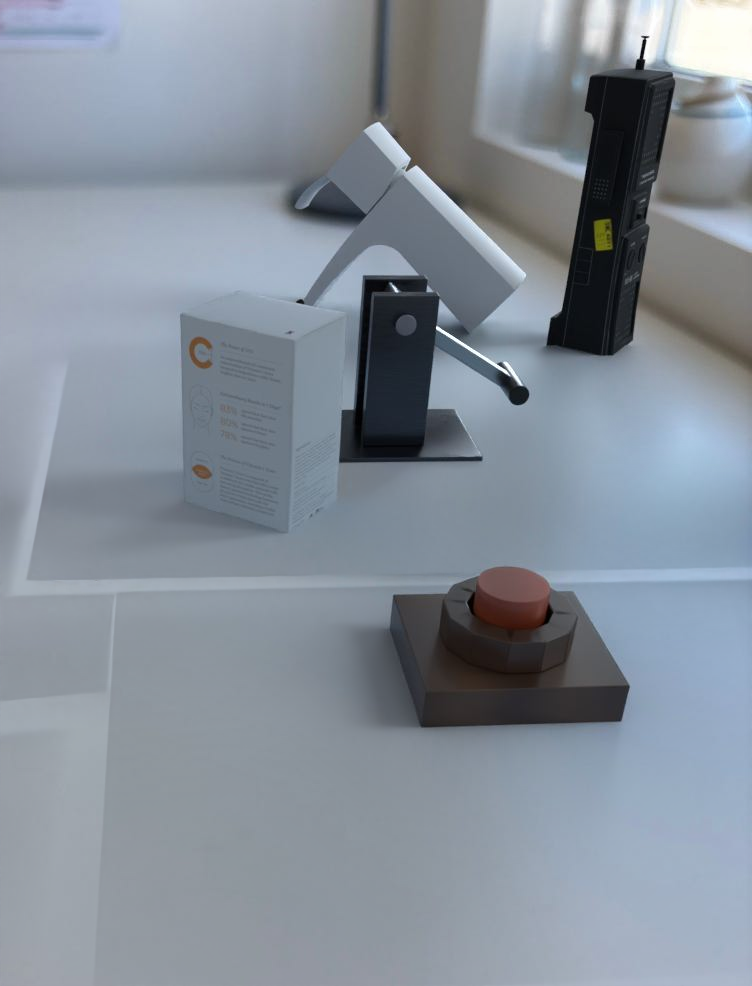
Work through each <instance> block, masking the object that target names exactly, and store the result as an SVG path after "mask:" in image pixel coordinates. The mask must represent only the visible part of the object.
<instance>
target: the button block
mask: <svg viewBox="0 0 752 986" xmlns="http://www.w3.org/2000/svg"><path fill="white" fill-rule="evenodd" d="M478 576H479V575H476V576H473V577H470V578H468V579H467V578H466V579H465V580H462V581H459V582H456V583H454V584H452V586H451V587H450V588H449V590H448V591H447V593H410V594H409V593H408V594H406V593H405V594H401V593H400V594H393V595H392V602H391V609H390V610H391V611H390V620H389V621H390V622H389V630H390V634H391V637H392V639H393V643H394V646H395V649H396V652H397V656H398V658H399V662H400V665H401V669H402V671H403V674H404V678H405V680H406V684H407V687H408V690H409V693H410V696H411V699H412V702H413V706H414V709H415V712H416V716H417V718H418V721H419V724H420V727H421V728H449V727H450V728H451V727H452V728H455V727H483V726H487V727H488V726H516V725H517V726H520V725H548V724H549V725H550V724H551V725H553V724H581V723H582V724H583V723H610V722H611V723H613V722H614V723H615V722H617V723H618V722H623V721H622V720H623V717H624V713H625V709H626V704H627V701H628V696H629V692H630V688H631V685H630V683H629V682H628V680H627V678H626V677H625V675H624V673H623V672H622V670H621V668H620V667H619V665H618V663H617V662H616V660H615V658H614V657H613V655H612V653H611V652H610V650H609V648H608V647H607V644H605V642H604V640H603V639H602V637H601V635H600V633H599V632H598V630H597V629H596V628H597V627H596V626H595V625H594V624H593V622H592V620H591V618H590V617H589V614H588V613H587V612H586V610H585V608H584V607H583V605H582V604H581V602H580V600H579V599H578V596H577V595H576V593H575V591H573V590H555V589H554V588H552V587H550V588H551V591H550V596H549V602H548V607H547V612H546V618H545V621H544V623H543V624H542V625H541V626H540V627H538V628H535V629H533V630H508V629H504V628H500V627H496V626H492V625H488V624H486V623H485V622H483V621H482V620H480V619H478V618H477V617H475V615H474V612H473V605H474V598H475V591H476V584H477V578H478Z"/></svg>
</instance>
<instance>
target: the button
mask: <svg viewBox="0 0 752 986" xmlns="http://www.w3.org/2000/svg"><path fill="white" fill-rule="evenodd" d="M477 576H478V578H477V584H476V591H475V598H474V605H473V612H474V615H475V617H477V618H478V619H480V620H482V621H483V622H485V623H486V624H488V625H492V626H496V627H500V628H504V629H508V630H533V629H535V628H538V627H540V626H541V625H542V624H543V623H544V621H545V618H546V612H547V607H548V602H549V596H550V591H551V588H552V587H551V585H550V582H549V581H548V580H547V579H546V578H545V577H544V576H542V575H540V574H539V573H537V572H535V571H533V570H530V569H528V568H523V567H517V566H509V565H507V566H495V567H491V568H487V569H485V570H484V571H482V572H481V573H480V574H479V575H477Z"/></svg>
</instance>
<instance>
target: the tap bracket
mask: <svg viewBox="0 0 752 986" xmlns="http://www.w3.org/2000/svg"><path fill="white" fill-rule="evenodd" d="M389 282H390V283H392V284H393V285H395V286H396V287H398V288H400V289H401V290H403V291H404V292H383V291H384V289H385V288H386V286H387V285H388V283H389ZM427 283H428V279H427V278H426V276H425V275H418V274H417V275H415V274H413V275H412V274H411V275H409V274H408V275H407V274H406V275H405V274H404V275H402V274H401V275H397V274H396V275H395V274H394V275H393V274H387V275H385V274H369V275H368V274H363V275H362V282H361V294H360V296H361V297H360V311H359V325H358V326H359V327H358V339H357V353H356V367H355V368H356V369H355V379H354V380H355V383H354V396H353V397H354V398H353V408H352V409H342V413H341V436H340V453H339V464H340V463H406V462H407V463H419V462H420V463H423V462H425V463H427V462H431V463H432V462H435V463H437V462H483V460H484V458H483V457H484V456H483V455H482V453H481V451H480V450H479V449H478V447H477V445H476V442H475V441H474V440H473V438H472V437H471V434H470V433H469V431H468V429H467V427H466V426H465V424H464V423H463V421H462V419H461V417H460V416H459V413H458V412H457V410H456V409H455V408H429V403H430V402H429V400H430V392H431V383H432V375H433V374H432V373H433V365H434V354H435V347H436V346H435V337H436V328H437V327H438V317H439V308H440V301H441V300H440V296H439V295H438V293H437V292H433V291H428V285H427ZM370 310H371V312H370Z"/></svg>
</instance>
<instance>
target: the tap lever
mask: <svg viewBox="0 0 752 986" xmlns="http://www.w3.org/2000/svg"><path fill="white" fill-rule="evenodd" d="M383 292H404V291H403V290H401V289H400V288H398V287H396V286H395V285H393V284H392V283H390V282H389V283H388V285H387V286H386V288H385V289H384V291H383ZM370 312H371V310H370ZM434 347H436V348H438V349H439V350H441V351H443V352H444V353H446V354H448V355H449V356H450V357H452V358H454V359H455V360H457V361H459V362H460V363H462V364H464V365H465V366H466V367H468V368H469V369H471V370H473V371H474V372H476V373H478V374H479V375H481V376H482V377H484V378H485V379H487V380H489V381H490V382H492V383H493V384H495V385H496V386H498V387H499V388H500V389H501V391H502V393H504V395H505V396H506V398H507V399H508V401H509V402H510V403H511V404H512V405H513V406H523V405H525V403H527V401H528V400H529V398H530V390H529V389H528V387H527V386H526V384H524V382H523V381H522V379H521V378H520V376H518V374H517V373H516V371H515V370H514V369H513V367H512V366H511V365H510V363H508V362H506V361H500V362H497V363H495V362H493V361H492V360H490V359H489V358H487V357H486V356H484V355H482V354H481V353H479V352H478V351H476V350H474V348H472V347H470V346H468V345H467V344H465V343H464V342H462V341H461V340H459V339H457V338H456V337H454V336H453V335H451V334H450V333H448V332H446V331H445V330H444V329H442V328H440V327H439V326H437V328H436V337H435V346H434Z"/></svg>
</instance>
